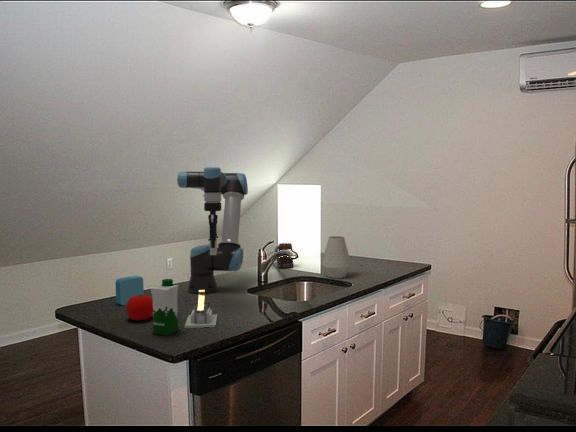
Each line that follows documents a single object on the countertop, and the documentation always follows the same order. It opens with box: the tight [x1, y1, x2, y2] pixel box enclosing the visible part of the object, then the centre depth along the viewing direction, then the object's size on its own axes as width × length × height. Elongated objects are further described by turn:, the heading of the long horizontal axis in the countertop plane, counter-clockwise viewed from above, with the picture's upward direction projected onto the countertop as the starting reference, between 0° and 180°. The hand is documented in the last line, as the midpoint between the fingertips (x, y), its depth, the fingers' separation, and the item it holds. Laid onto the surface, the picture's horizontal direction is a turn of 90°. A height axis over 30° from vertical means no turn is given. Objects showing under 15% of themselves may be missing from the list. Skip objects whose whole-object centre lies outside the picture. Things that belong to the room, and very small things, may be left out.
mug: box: [274, 242, 294, 270], centre depth 309 cm, size 16×11×15 cm
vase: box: [320, 235, 352, 279], centre depth 285 cm, size 18×17×23 cm
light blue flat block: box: [115, 275, 145, 306], centre depth 230 cm, size 12×4×12 cm, turn 139°
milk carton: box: [149, 278, 179, 337], centre depth 188 cm, size 9×9×20 cm
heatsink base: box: [184, 300, 218, 329], centre depth 201 cm, size 14×12×8 cm
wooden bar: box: [197, 290, 206, 313], centre depth 200 cm, size 11×3×2 cm
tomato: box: [125, 294, 153, 321], centre depth 205 cm, size 11×12×10 cm
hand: (213, 253), depth 220 cm, fingers open, 5 cm apart
